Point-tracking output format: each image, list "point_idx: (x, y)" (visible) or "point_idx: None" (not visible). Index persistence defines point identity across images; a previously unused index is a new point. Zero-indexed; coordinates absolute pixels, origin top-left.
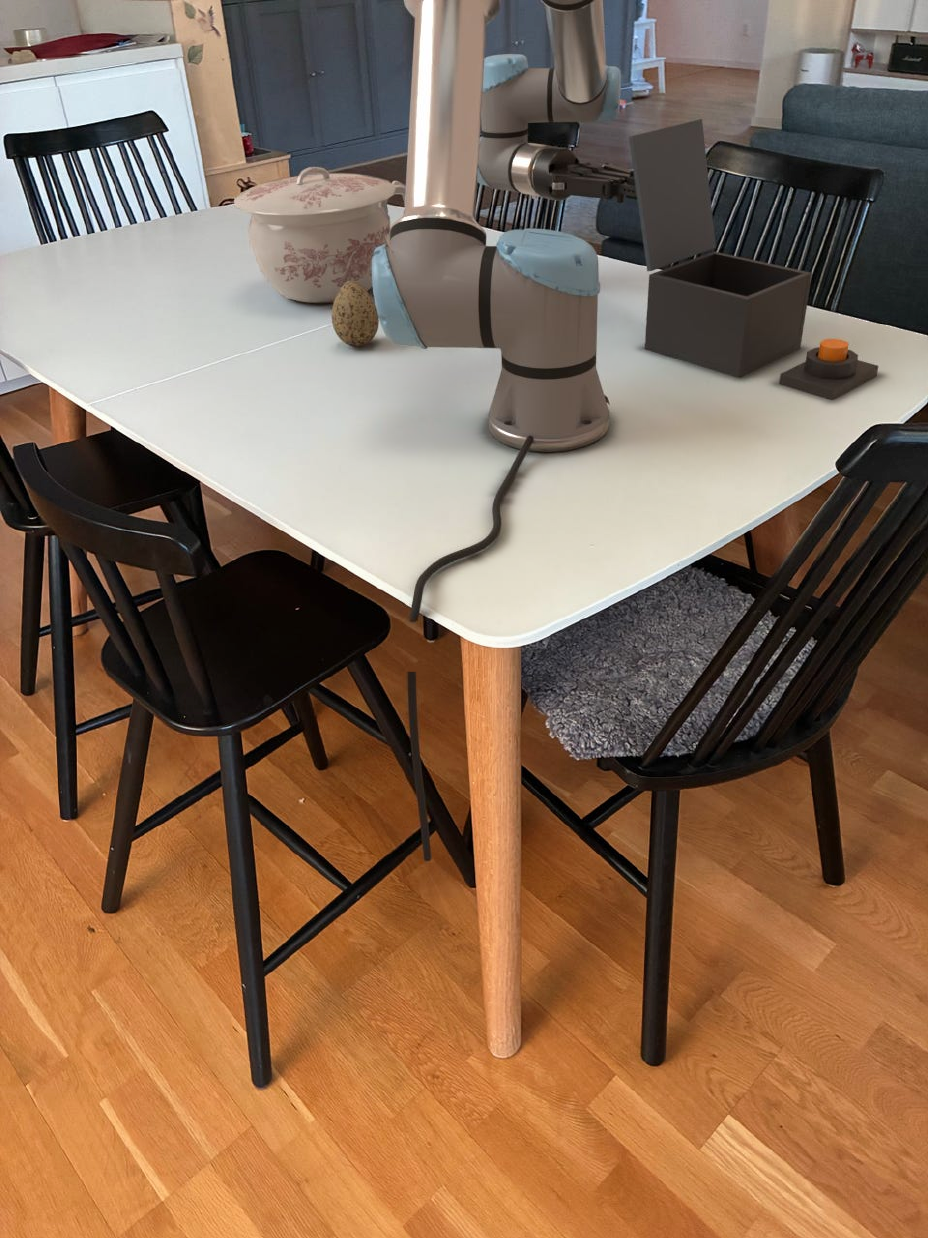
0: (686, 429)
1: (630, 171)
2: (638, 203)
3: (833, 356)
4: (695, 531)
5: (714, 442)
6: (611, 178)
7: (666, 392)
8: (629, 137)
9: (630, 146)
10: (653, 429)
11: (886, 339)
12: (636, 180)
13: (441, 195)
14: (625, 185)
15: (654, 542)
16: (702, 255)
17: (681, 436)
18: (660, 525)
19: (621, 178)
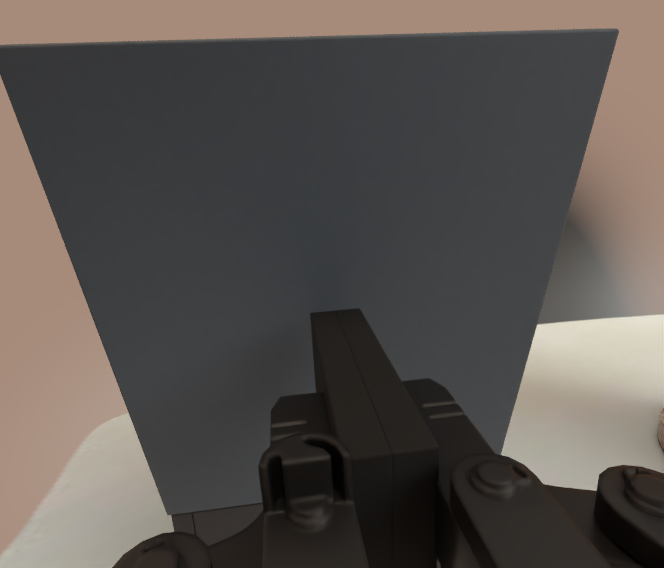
0: (546, 396)
1: (348, 456)
2: (540, 307)
3: None
4: (600, 325)
5: (526, 375)
6: (598, 565)
7: (529, 462)
8: (615, 35)
9: (603, 83)
10: (589, 409)
11: (129, 433)
12: (557, 229)
13: None
14: (485, 446)
15: (638, 326)
16: (234, 506)
17: (558, 390)
18: (628, 333)
19: (496, 461)
